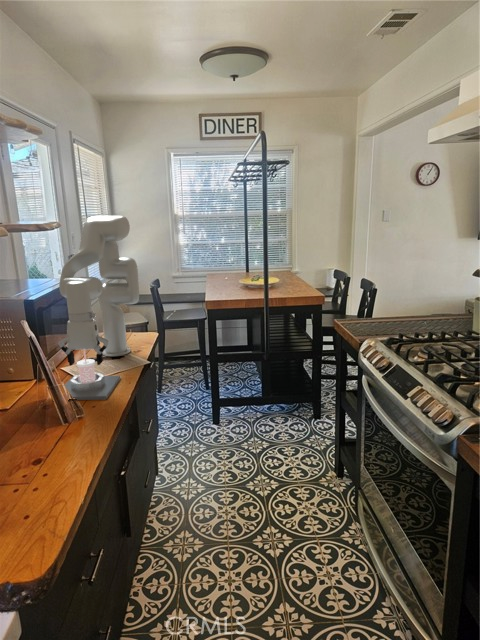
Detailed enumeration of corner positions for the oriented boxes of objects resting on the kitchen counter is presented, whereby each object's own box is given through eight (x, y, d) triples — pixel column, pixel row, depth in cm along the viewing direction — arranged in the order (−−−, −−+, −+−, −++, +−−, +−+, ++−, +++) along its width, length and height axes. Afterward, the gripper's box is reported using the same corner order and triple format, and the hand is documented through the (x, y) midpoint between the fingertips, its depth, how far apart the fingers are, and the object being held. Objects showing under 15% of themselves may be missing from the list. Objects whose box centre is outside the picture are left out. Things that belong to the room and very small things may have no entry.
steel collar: (78, 380, 151) (78, 372, 150) (107, 379, 151) (106, 372, 150) (67, 392, 141) (66, 384, 140) (98, 391, 141) (97, 383, 140)
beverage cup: (77, 389, 143) (73, 351, 139) (81, 382, 148) (76, 346, 145) (96, 388, 144) (91, 350, 140) (98, 381, 150) (94, 345, 146)
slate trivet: (72, 379, 155) (72, 376, 154) (120, 378, 155) (120, 375, 155) (52, 400, 137) (52, 397, 137) (106, 399, 138) (106, 396, 137)
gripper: (109, 314, 143) (113, 359, 148) (59, 314, 143) (65, 360, 147) (102, 319, 136) (107, 367, 140) (50, 320, 136) (56, 368, 140)
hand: (85, 363), depth 144 cm, fingers open, 9 cm apart
